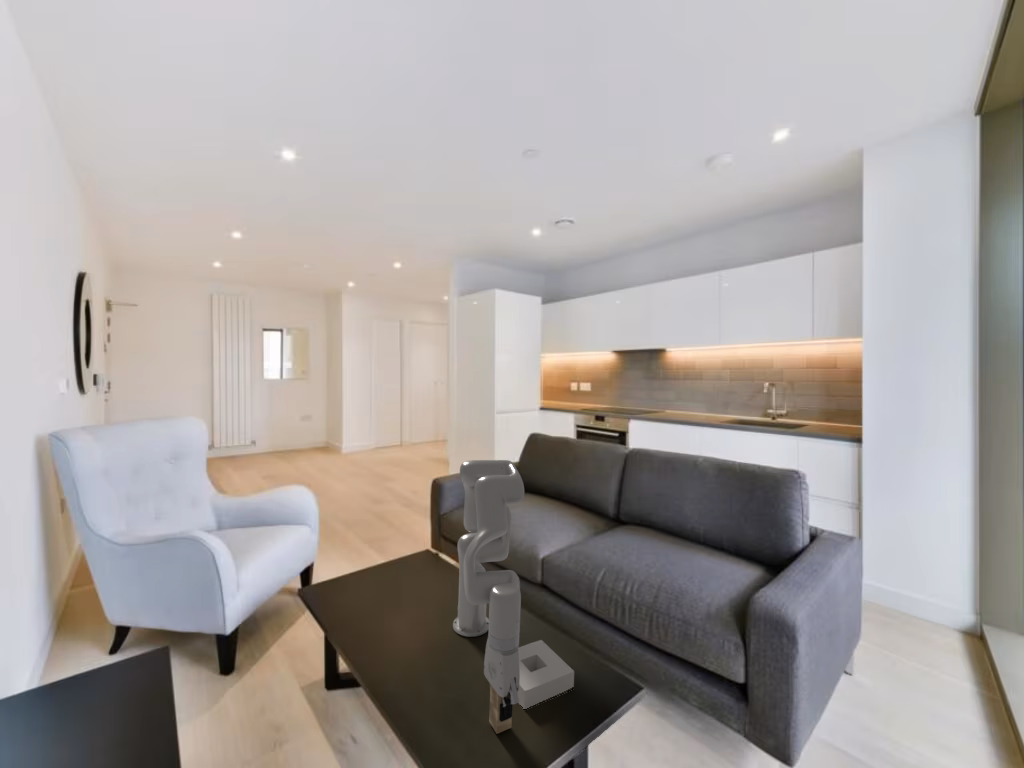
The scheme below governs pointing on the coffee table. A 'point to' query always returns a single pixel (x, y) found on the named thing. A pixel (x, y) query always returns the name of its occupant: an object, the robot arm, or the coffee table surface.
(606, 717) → the coffee table surface
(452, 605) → the coffee table surface
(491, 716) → the maple peg
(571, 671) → the socket block
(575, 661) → the coffee table surface
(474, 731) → the coffee table surface
